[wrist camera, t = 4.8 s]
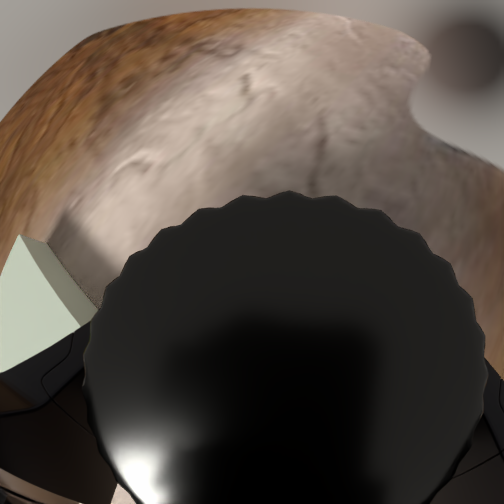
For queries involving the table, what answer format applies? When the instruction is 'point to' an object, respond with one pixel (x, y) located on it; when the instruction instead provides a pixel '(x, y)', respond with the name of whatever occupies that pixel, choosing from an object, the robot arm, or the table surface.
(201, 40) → the table surface
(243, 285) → the supplement bottle
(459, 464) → the robot arm
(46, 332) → the plinth
